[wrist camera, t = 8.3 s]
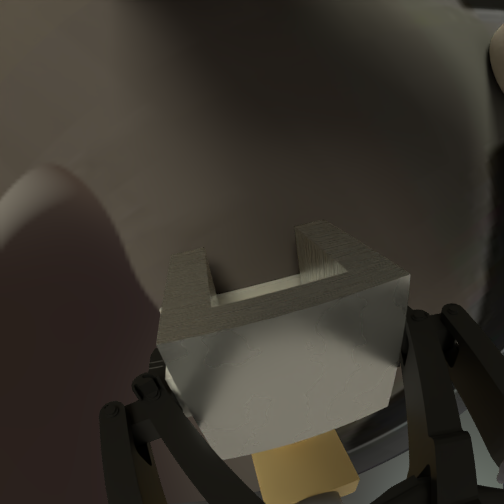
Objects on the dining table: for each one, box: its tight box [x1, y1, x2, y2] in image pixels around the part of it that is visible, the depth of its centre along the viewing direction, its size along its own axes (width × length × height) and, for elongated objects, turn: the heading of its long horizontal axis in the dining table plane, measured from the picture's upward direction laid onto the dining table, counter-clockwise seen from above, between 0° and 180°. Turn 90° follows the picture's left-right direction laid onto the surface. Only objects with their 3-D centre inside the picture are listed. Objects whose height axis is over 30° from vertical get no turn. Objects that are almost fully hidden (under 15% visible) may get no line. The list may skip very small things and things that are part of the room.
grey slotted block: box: [156, 220, 411, 460], centre depth 14 cm, size 8×9×8 cm
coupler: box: [252, 429, 360, 504], centre depth 18 cm, size 17×8×12 cm, turn 10°
